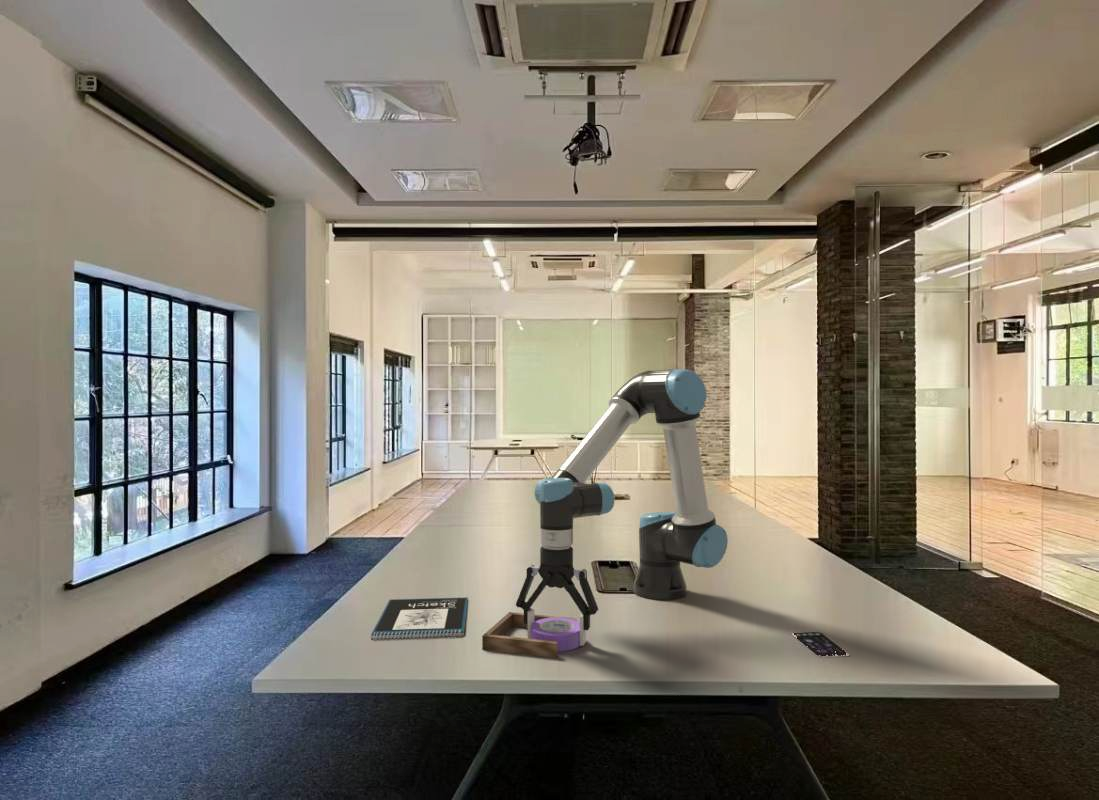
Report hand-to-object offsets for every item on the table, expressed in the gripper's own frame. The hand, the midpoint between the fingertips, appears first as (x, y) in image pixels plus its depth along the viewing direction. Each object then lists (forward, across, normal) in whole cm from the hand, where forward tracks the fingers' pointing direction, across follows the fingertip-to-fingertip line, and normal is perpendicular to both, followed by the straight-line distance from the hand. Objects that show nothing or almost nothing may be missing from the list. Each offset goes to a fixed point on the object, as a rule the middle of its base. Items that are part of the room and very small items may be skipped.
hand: (556, 640), depth 152 cm
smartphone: (+1, +57, +16) cm, 60 cm away
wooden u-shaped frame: (0, -6, 0) cm, 6 cm away
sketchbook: (+1, -38, +6) cm, 38 cm away
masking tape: (+1, 0, 0) cm, 1 cm away
